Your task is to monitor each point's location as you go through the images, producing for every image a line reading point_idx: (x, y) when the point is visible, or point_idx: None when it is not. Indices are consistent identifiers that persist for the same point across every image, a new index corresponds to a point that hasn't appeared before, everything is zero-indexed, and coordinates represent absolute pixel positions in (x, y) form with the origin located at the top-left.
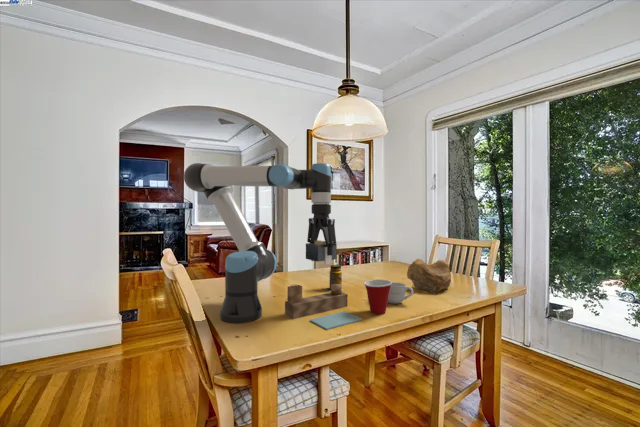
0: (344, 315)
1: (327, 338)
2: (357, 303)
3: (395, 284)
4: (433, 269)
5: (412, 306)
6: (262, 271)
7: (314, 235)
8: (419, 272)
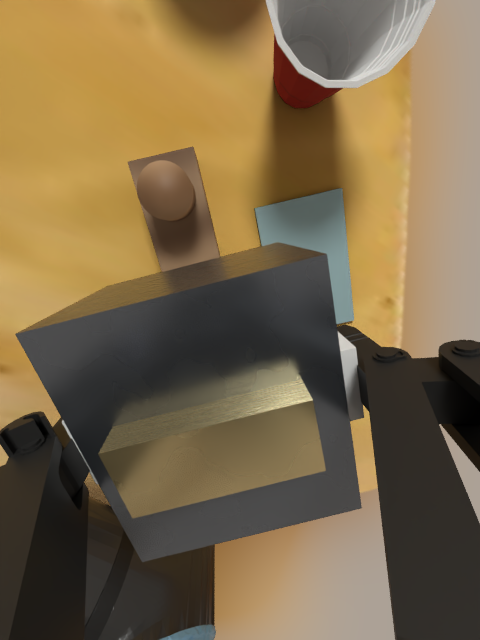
0: (292, 229)
1: (392, 336)
2: (174, 91)
3: None
4: None
5: None
6: None
7: (77, 607)
8: None
